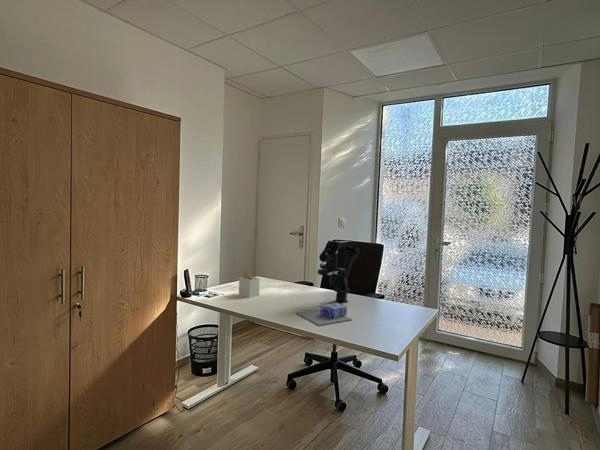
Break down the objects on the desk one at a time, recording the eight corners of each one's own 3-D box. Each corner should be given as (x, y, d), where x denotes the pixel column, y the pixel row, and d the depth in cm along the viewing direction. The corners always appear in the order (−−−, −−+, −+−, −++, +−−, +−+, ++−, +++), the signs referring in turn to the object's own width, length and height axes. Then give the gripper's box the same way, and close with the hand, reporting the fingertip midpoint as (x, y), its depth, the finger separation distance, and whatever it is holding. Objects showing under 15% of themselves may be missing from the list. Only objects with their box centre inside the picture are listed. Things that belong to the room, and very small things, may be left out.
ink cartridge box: (347, 305, 203) (328, 310, 194) (347, 315, 204) (328, 320, 195) (335, 302, 211) (317, 306, 202) (335, 311, 211) (316, 315, 202)
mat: (326, 308, 217) (326, 307, 217) (351, 320, 197) (351, 319, 197) (295, 313, 206) (295, 312, 206) (319, 326, 185) (319, 324, 185)
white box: (248, 293, 250) (248, 270, 250) (259, 296, 244) (259, 272, 243) (238, 295, 244) (239, 271, 243) (249, 298, 237) (250, 274, 236)
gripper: (336, 258, 237) (335, 281, 237) (313, 259, 227) (312, 283, 228) (346, 260, 227) (345, 284, 228) (323, 262, 217) (322, 287, 218)
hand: (331, 284), depth 226 cm, fingers closed
